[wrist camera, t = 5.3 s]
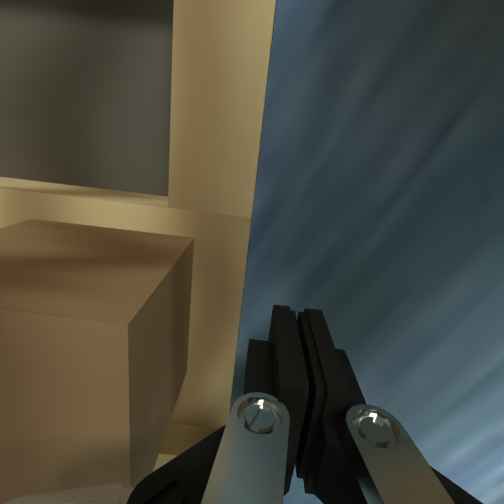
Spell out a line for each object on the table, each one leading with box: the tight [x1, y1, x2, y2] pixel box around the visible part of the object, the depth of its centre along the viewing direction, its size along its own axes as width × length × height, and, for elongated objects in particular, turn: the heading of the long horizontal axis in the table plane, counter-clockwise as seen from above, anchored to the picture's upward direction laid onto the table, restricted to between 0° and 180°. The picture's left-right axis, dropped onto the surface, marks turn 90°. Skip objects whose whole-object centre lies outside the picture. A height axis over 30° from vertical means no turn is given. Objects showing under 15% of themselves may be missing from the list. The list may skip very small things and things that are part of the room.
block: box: [0, 219, 194, 504], centre depth 10 cm, size 6×6×6 cm
